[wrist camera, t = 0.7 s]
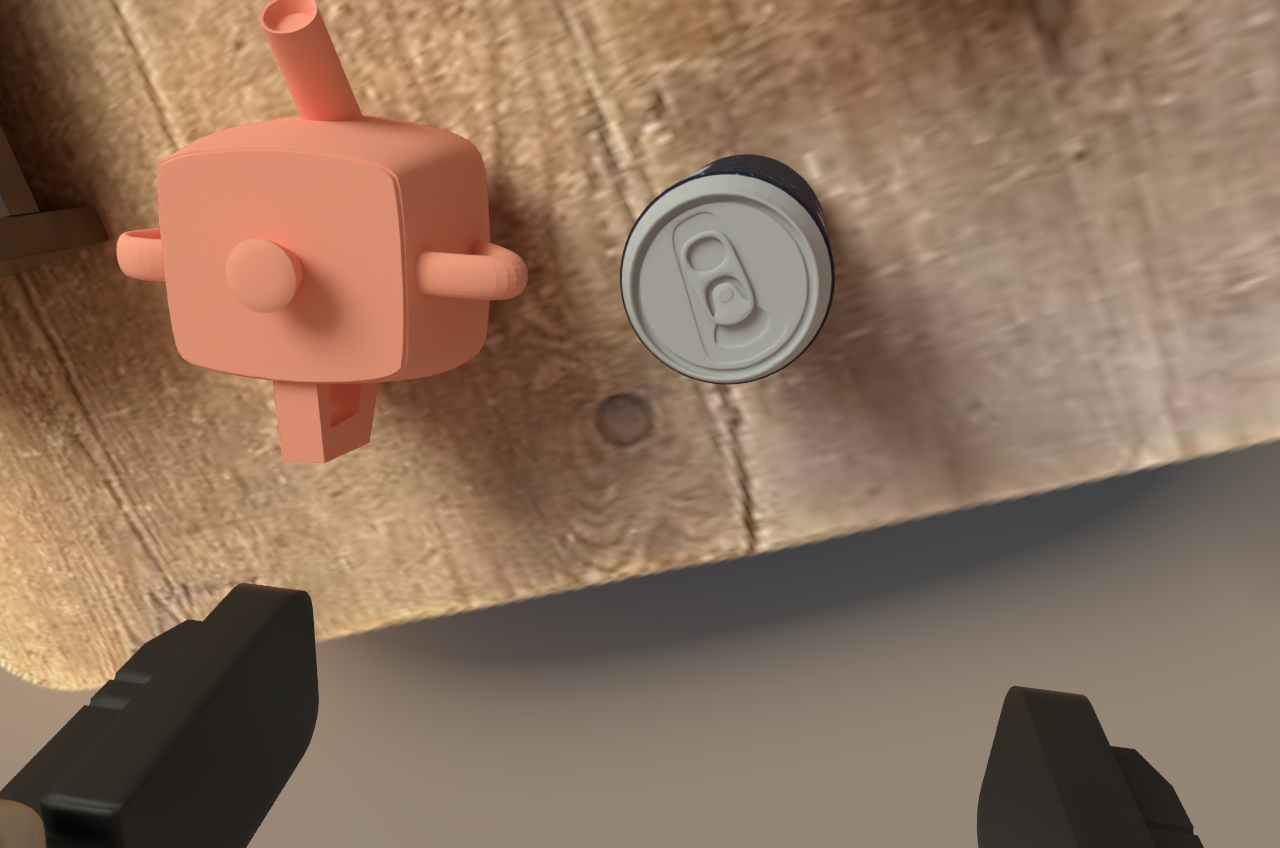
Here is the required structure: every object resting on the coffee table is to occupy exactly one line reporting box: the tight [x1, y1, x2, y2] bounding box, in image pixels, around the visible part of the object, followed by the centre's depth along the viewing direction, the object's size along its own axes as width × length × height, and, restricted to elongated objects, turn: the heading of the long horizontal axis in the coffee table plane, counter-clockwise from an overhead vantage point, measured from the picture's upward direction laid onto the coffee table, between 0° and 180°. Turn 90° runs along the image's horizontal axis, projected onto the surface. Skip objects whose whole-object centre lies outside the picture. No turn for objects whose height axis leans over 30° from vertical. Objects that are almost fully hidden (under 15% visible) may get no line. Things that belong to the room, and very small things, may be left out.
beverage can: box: [620, 155, 835, 384], centre depth 31 cm, size 6×6×12 cm
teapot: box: [117, 0, 528, 463], centre depth 34 cm, size 12×12×10 cm
